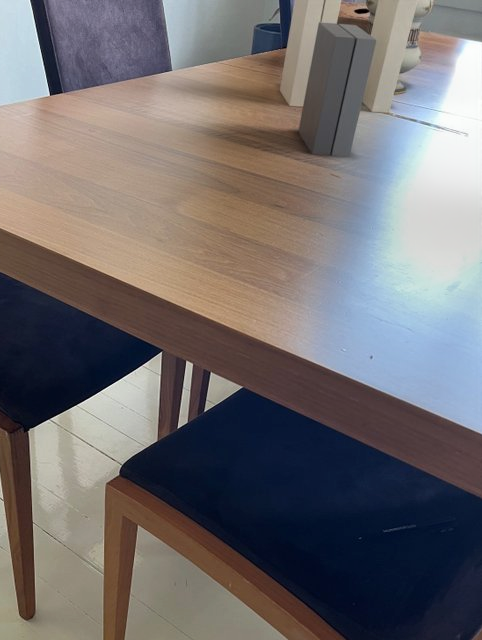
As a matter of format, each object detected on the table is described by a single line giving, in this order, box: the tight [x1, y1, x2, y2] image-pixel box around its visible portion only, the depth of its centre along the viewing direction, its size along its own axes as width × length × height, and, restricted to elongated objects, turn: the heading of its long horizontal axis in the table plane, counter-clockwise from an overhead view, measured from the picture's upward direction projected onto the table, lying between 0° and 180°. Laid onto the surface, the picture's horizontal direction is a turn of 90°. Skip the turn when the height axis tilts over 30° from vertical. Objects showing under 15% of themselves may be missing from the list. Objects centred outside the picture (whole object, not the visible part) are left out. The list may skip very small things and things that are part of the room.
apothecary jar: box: [365, 0, 435, 95], centre depth 134 cm, size 12×12×18 cm
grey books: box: [297, 22, 377, 157], centre depth 100 cm, size 5×11×15 cm, turn 0°
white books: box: [279, 0, 342, 108], centre depth 123 cm, size 5×11×17 cm, turn 0°
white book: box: [362, 0, 418, 114], centre depth 123 cm, size 3×11×17 cm, turn 0°
